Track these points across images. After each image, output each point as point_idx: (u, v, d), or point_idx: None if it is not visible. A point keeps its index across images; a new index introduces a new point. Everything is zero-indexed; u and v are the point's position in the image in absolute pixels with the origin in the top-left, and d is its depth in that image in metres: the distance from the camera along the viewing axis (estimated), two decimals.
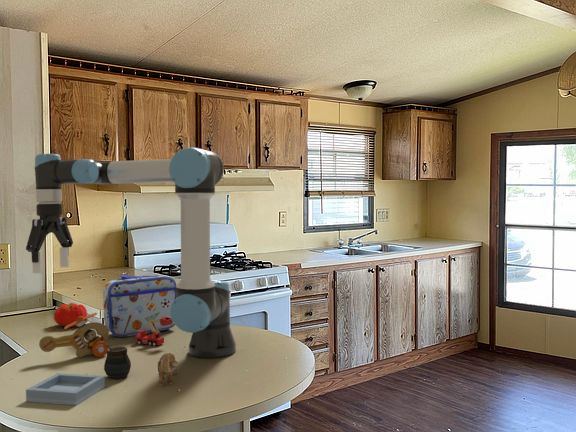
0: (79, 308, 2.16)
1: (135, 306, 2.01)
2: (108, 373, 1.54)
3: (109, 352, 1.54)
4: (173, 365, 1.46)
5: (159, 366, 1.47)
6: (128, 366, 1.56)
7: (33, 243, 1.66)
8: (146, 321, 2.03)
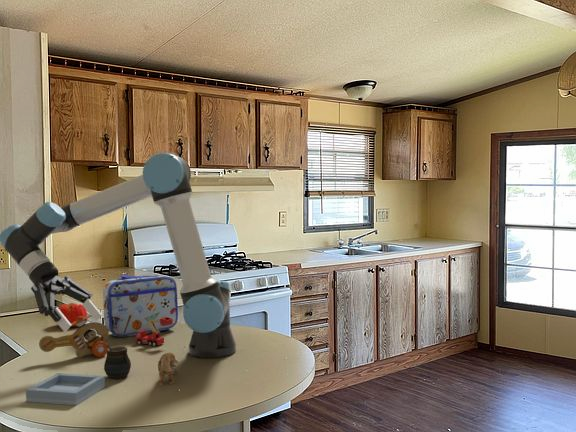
0: (79, 308, 2.16)
1: (135, 306, 2.01)
2: (108, 373, 1.54)
3: (109, 352, 1.54)
4: (173, 364, 1.47)
5: (159, 365, 1.47)
6: (128, 366, 1.56)
7: (42, 303, 1.52)
8: (146, 321, 2.03)
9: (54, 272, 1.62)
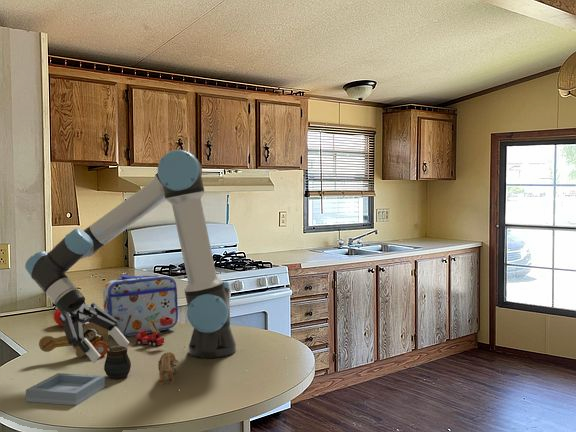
0: None
1: (135, 306, 2.01)
2: (108, 373, 1.54)
3: (109, 352, 1.54)
4: (174, 364, 1.48)
5: (160, 365, 1.48)
6: (128, 366, 1.56)
7: (71, 333, 1.49)
8: (146, 321, 2.03)
9: (81, 300, 1.60)
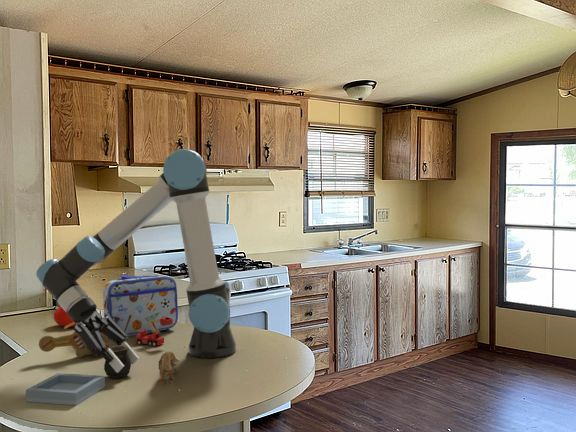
0: None
1: (135, 306, 2.01)
2: (108, 373, 1.54)
3: None
4: (174, 363, 1.48)
5: (160, 364, 1.48)
6: (128, 366, 1.56)
7: (94, 344, 1.50)
8: (146, 321, 2.03)
9: (93, 308, 1.59)
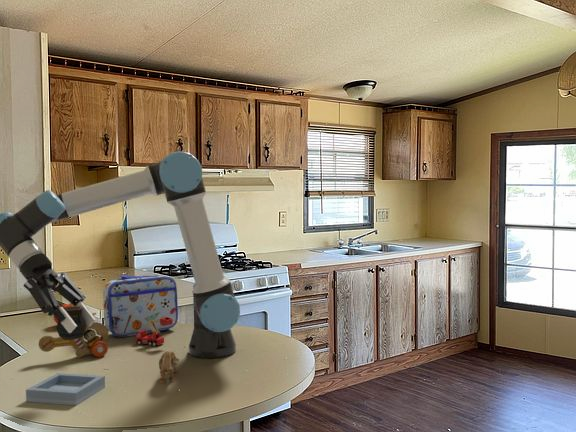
0: None
1: (135, 306, 2.01)
2: (60, 334, 1.43)
3: None
4: (175, 362, 1.49)
5: (161, 363, 1.49)
6: (82, 327, 1.44)
7: (44, 302, 1.39)
8: (146, 321, 2.03)
9: (47, 265, 1.48)
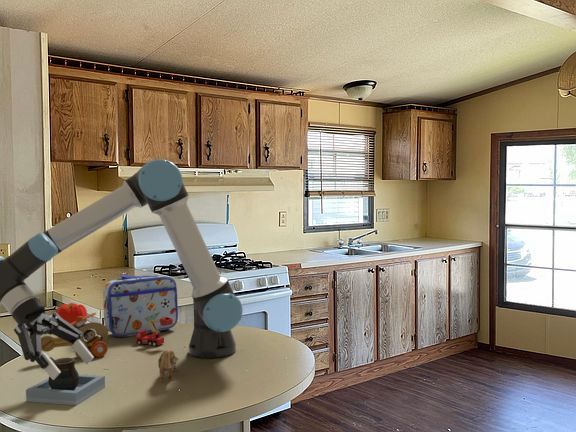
0: (79, 308, 2.16)
1: (135, 306, 2.01)
2: (52, 388, 1.40)
3: None
4: (174, 361, 1.50)
5: (160, 362, 1.50)
6: (74, 380, 1.41)
7: (28, 348, 1.35)
8: (146, 321, 2.03)
9: (40, 310, 1.45)
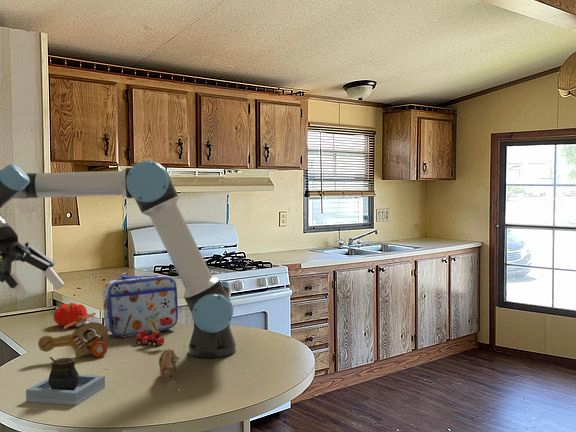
0: (79, 308, 2.16)
1: (135, 306, 2.01)
2: (52, 388, 1.40)
3: (53, 364, 1.40)
4: (174, 360, 1.51)
5: (161, 362, 1.51)
6: (74, 380, 1.41)
7: None
8: (146, 321, 2.03)
9: (13, 237, 1.53)
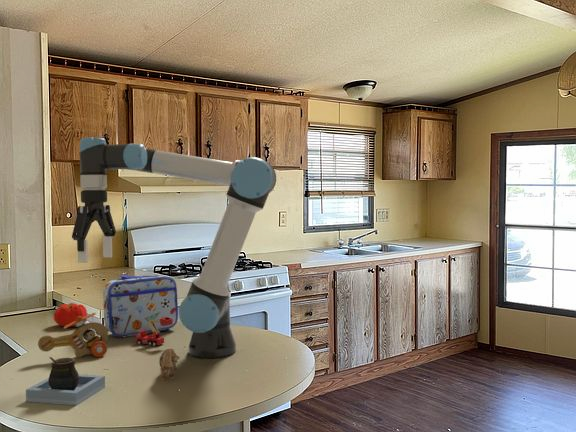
0: (79, 308, 2.16)
1: (135, 306, 2.01)
2: (52, 388, 1.40)
3: (53, 364, 1.40)
4: (175, 360, 1.51)
5: (161, 361, 1.51)
6: (74, 380, 1.41)
7: (79, 231, 1.58)
8: (146, 321, 2.03)
9: None
